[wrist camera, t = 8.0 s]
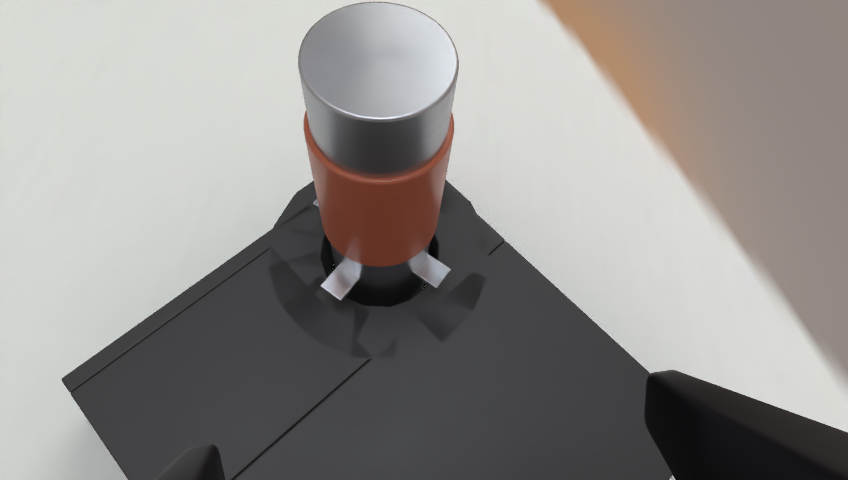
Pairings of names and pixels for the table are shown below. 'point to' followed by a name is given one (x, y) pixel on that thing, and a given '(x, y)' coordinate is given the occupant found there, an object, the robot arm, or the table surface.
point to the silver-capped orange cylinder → (379, 145)
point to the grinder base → (373, 371)
